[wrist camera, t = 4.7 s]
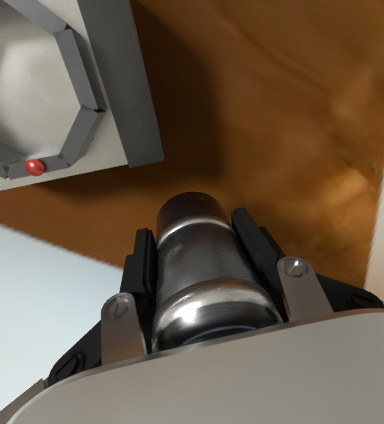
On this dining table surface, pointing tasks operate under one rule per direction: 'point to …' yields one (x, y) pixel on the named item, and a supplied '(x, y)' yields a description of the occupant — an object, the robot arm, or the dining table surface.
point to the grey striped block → (72, 91)
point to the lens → (203, 277)
